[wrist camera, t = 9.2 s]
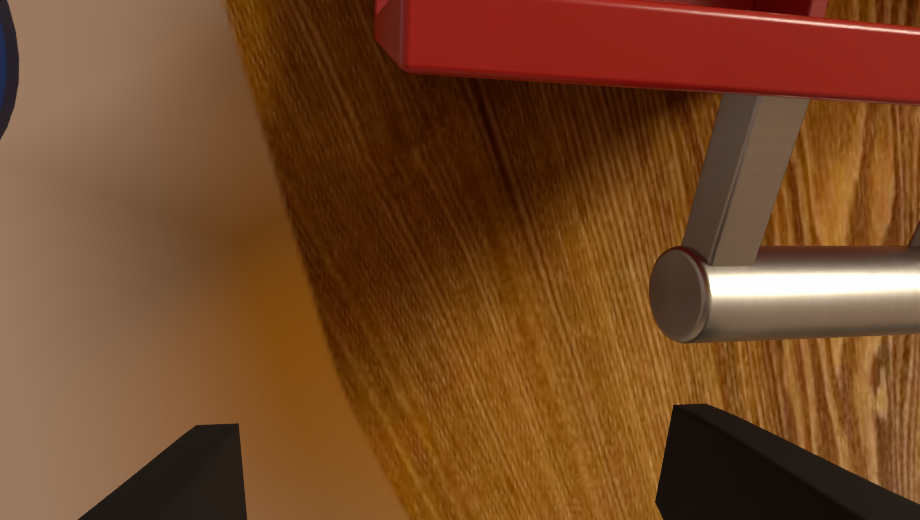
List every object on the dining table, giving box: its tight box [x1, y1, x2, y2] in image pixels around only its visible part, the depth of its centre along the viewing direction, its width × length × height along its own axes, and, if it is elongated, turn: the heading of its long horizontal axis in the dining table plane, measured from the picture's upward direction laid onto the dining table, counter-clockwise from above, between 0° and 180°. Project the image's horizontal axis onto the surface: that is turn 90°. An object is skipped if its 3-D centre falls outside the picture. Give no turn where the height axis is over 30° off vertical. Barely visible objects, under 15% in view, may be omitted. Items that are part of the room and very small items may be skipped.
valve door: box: [375, 0, 920, 343], centre depth 10 cm, size 10×13×4 cm
